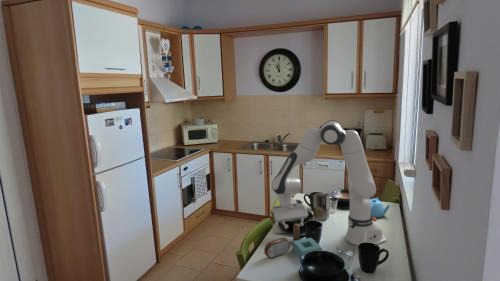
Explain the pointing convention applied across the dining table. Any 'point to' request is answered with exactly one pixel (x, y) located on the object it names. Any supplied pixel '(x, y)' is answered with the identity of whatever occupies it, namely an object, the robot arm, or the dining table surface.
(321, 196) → the coffee box
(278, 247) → the tin
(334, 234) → the dining table surface
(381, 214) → the teapot
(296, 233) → the walnut dowel
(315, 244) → the teal square-hole block
